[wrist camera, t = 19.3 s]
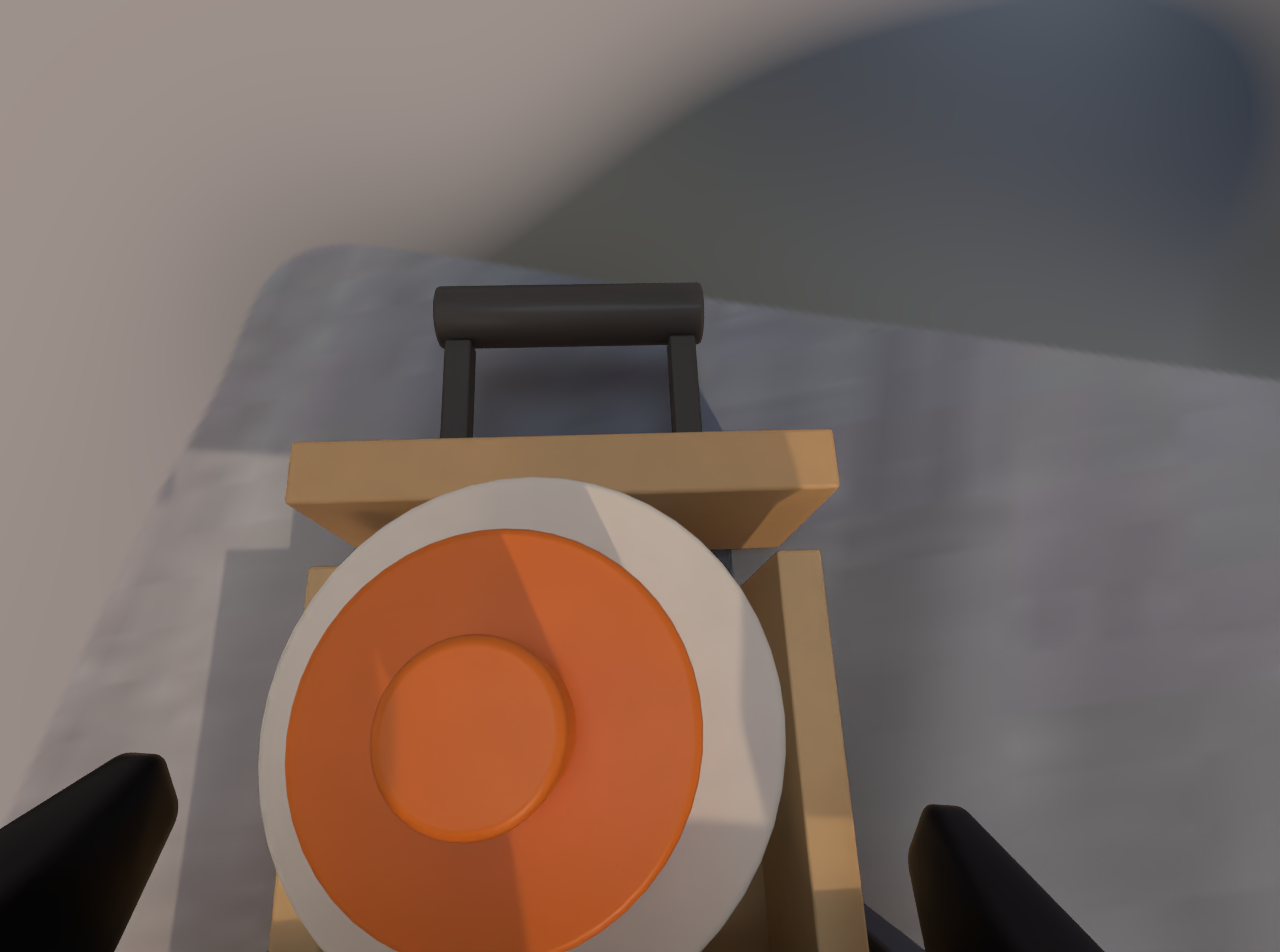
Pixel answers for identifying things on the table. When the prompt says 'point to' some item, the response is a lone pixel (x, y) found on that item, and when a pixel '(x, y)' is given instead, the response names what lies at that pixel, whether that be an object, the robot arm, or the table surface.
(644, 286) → the drawer
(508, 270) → the table surface
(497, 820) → the glue bottle
